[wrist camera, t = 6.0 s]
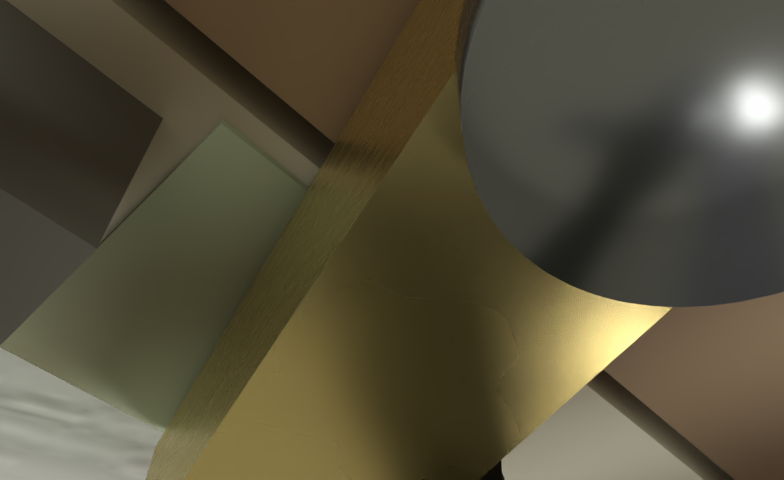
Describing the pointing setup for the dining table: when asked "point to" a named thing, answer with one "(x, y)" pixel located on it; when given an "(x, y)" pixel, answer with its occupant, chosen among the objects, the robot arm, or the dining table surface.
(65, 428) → the dining table surface
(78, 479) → the dining table surface
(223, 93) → the strike board
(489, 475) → the robot arm
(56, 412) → the dining table surface
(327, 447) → the latch bar
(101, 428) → the dining table surface
